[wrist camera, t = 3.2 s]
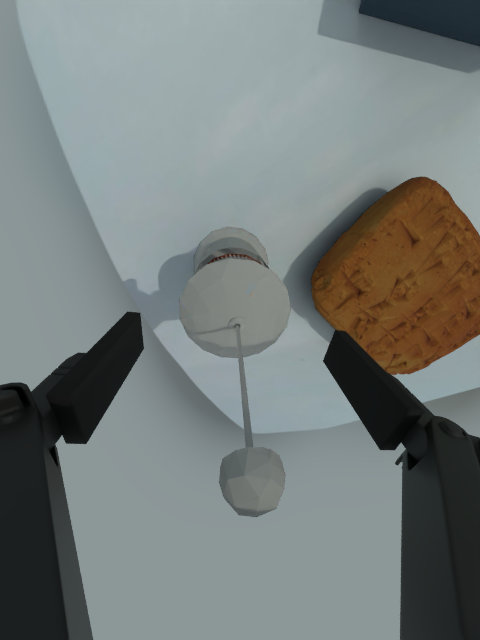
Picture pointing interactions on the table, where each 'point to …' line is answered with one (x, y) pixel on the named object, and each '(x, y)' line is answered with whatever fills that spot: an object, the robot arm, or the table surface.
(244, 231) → the french press
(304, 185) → the table surface
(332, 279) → the inscribed clay slab
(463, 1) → the tub
